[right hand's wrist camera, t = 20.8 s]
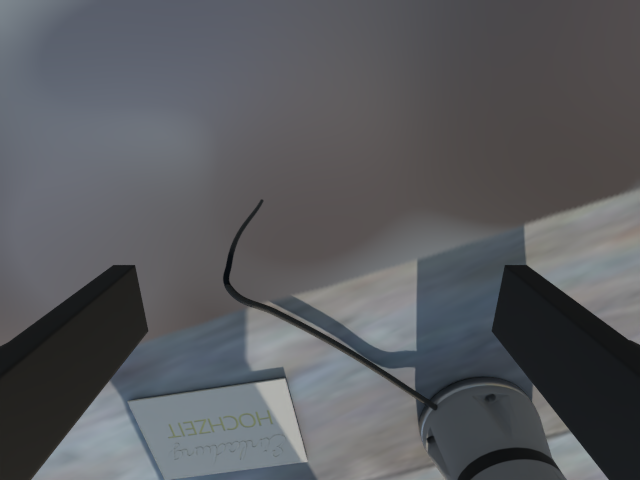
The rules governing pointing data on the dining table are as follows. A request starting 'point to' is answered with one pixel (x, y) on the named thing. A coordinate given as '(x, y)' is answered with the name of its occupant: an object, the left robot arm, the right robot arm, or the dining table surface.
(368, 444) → the dining table surface
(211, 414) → the invitation card
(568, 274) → the dining table surface
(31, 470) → the right robot arm
